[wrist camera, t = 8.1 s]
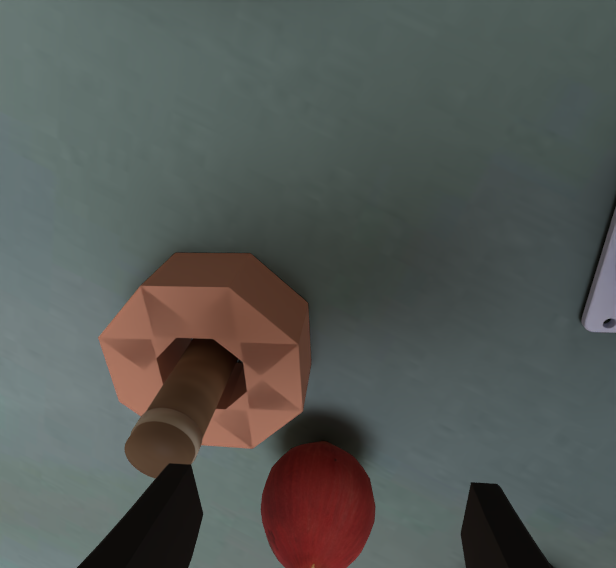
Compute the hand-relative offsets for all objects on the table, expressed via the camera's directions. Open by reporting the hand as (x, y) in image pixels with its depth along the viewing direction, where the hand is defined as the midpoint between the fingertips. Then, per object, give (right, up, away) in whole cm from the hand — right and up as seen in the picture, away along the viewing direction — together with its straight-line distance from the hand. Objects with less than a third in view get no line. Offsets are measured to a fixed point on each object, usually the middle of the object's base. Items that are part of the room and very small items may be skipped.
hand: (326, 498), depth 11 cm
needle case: (-5, +3, +11) cm, 12 cm away
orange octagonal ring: (-5, +3, +11) cm, 12 cm away
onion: (0, -4, +14) cm, 15 cm away
